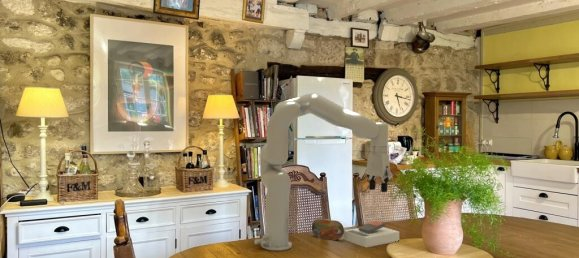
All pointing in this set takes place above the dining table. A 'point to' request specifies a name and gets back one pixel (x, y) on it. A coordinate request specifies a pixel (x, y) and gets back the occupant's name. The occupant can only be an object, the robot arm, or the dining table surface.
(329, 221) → the tin
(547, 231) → the dining table surface
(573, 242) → the dining table surface
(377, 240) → the switch panel
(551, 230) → the dining table surface
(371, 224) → the rocker
